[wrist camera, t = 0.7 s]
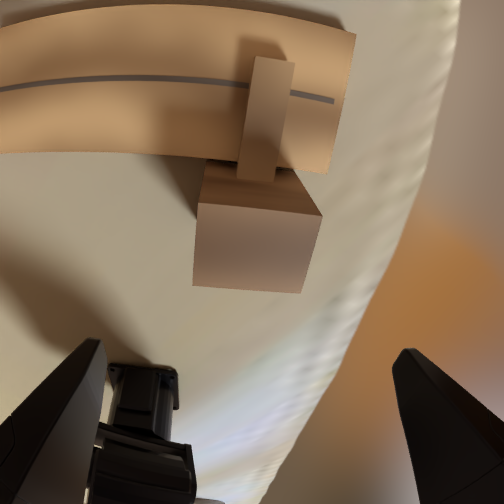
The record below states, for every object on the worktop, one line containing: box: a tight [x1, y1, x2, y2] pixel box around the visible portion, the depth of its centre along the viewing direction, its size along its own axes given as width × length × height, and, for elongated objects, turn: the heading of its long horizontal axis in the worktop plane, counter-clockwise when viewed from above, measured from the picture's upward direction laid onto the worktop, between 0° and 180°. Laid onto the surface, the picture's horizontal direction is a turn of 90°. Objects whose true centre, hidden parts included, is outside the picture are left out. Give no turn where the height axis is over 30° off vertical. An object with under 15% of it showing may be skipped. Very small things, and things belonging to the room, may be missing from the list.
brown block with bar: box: [192, 56, 323, 293], centre depth 15 cm, size 10×5×6 cm, turn 171°
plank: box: [0, 4, 356, 174], centre depth 14 cm, size 8×20×1 cm, turn 81°
